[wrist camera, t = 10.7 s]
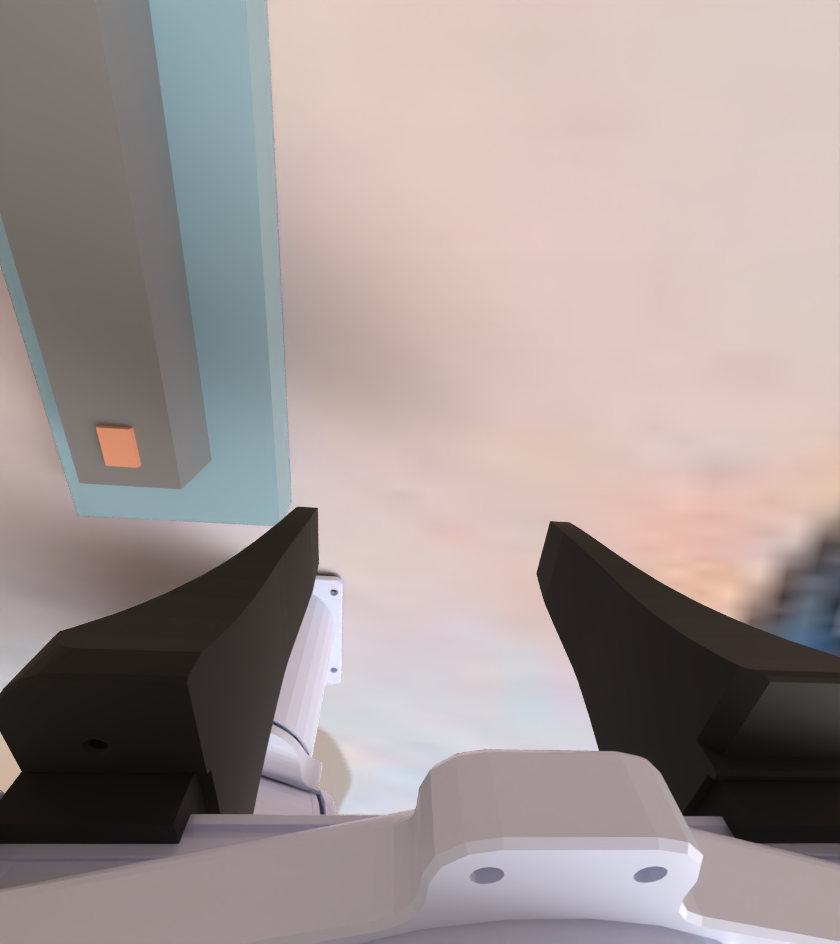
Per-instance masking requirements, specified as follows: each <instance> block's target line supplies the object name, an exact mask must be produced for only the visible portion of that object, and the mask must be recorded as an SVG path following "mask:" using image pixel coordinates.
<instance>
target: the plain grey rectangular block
mask: <svg viewBox="0 0 840 944" xmlns="http://www.w3.org/2000/svg"><path fill="white" fill-rule="evenodd" d="M0 214H1V218H2V221H3V225H4V228H5V232H6V235H7V238H8V242H9V245H10V249H11V252H12V255H13V259H14V262H15V266H16V269H17V272H18V276H19V279H20V283H21V286H22V289H23V293H24V296H25V300H26V303H27V306H28V310H29V313H30V317H31V320H32V324H33V327H34V330H35V334H36V337H37V341H38V344H39V347H40V351H41V354H42V358H43V361H44V364H45V368H46V371H47V375H48V378H49V381H50V385H51V388H52V392H53V395H54V398H55V402H56V405H57V409H58V412H59V415H60V419H61V422H62V426H63V429H64V433H65V436H66V439H67V443H68V446H69V450H70V453H71V456H72V460H73V463H74V467H75V470H76V473H77V477H78V480H79V483H83V484H100V485H117V486H134V487H150V488H167V489H182V488H183V487H184V486H185V485H186V484H187V483H188V482H189V481H191V480H192V479H193V478H194V477H195V476H196V475H197V474H198V473H199V472H200V471H201V470H202V469H203V468H204V467H205V466H206V465H207V464H208V463H209V462H210V461H211V460H212V459H211V452H210V445H209V437H208V430H207V423H206V415H205V408H204V401H203V393H202V386H201V379H200V371H199V364H198V357H197V350H196V342H195V335H194V328H193V320H192V313H191V306H190V298H189V291H188V284H187V277H186V269H185V262H184V255H183V247H182V240H181V233H180V225H179V218H178V211H177V203H176V196H175V189H174V182H173V174H172V167H171V160H170V152H169V145H168V138H167V130H166V123H165V116H164V108H163V101H162V94H161V87H160V79H159V72H158V65H157V57H156V50H155V43H154V35H153V28H152V21H151V14H150V6H149V0H0Z"/></svg>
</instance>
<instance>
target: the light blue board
mask: <svg viewBox="0 0 840 944" xmlns="http://www.w3.org/2000/svg"><path fill="white" fill-rule="evenodd" d="M149 6H150V14H151V21H152V28H153V35H154V43H155V50H156V57H157V65H158V72H159V79H160V87H161V94H162V101H163V108H164V116H165V123H166V130H167V138H168V145H169V152H170V160H171V167H172V174H173V182H174V189H175V196H176V203H177V211H178V218H179V225H180V233H181V240H182V247H183V255H184V262H185V269H186V277H187V284H188V291H189V298H190V306H191V313H192V320H193V328H194V335H195V342H196V350H197V357H198V364H199V371H200V379H201V386H202V393H203V401H204V408H205V415H206V423H207V430H208V437H209V445H210V452H211V459H212V460H211V461H210V462H209V463H208V464H207V465H206V466H205V467H204V468H203V469H202V470H201V471H200V472H199V473H198V474H197V475H196V476H195V477H194V478H193V479H192V480H191V481H189V482H188V483H187V484H186V485H185V486H184V487H183V488H182V489H167V488H150V487H134V486H117V485H100V484H83V483H79V480H78V477H77V473H76V470H75V467H74V463H73V460H72V456H71V453H70V450H69V446H68V443H67V439H66V436H65V433H64V429H63V426H62V422H61V419H60V415H59V412H58V409H57V405H56V402H55V398H54V395H53V392H52V388H51V385H50V381H49V378H48V375H47V371H46V368H45V364H44V361H43V358H42V354H41V351H40V347H39V344H38V341H37V337H36V334H35V330H34V327H33V324H32V320H31V317H30V313H29V310H28V306H27V303H26V300H25V296H24V293H23V289H22V286H21V283H20V279H19V276H18V272H17V269H16V266H15V262H14V259H13V255H12V252H11V249H10V245H9V242H8V238H7V235H6V232H5V228H4V225H3V221H2V218H1V214H0V264H1V268H2V271H3V274H4V277H5V281H6V284H7V287H8V290H9V294H10V297H11V300H12V304H13V307H14V310H15V313H16V317H17V320H18V323H19V326H20V330H21V333H22V336H23V339H24V343H25V346H26V349H27V352H28V356H29V359H30V362H31V365H32V369H33V372H34V375H35V378H36V382H37V385H38V388H39V391H40V395H41V398H42V401H43V404H44V408H45V411H46V414H47V418H48V421H49V424H50V427H51V431H52V434H53V437H54V440H55V444H56V447H57V450H58V453H59V457H60V460H61V463H62V466H63V470H64V473H65V476H66V479H67V483H68V486H69V489H70V492H71V496H72V499H73V502H74V505H75V509H76V512H77V515H78V516H96V517H114V518H133V519H151V520H170V521H188V522H207V523H225V524H244V525H262V526H275V525H276V524H277V523H278V522H279V521H281V520H282V519H283V518H284V517H285V515H286V513H287V511H288V509H289V507H290V505H291V503H292V501H291V481H290V460H289V440H288V420H287V399H286V379H285V359H284V338H283V318H282V298H281V278H280V257H279V237H278V217H277V196H276V176H275V156H274V135H273V115H272V95H271V74H270V54H269V34H268V13H267V0H149Z"/></svg>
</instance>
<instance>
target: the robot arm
mask: <svg viewBox="0 0 840 944" xmlns="http://www.w3.org/2000/svg"><path fill="white" fill-rule="evenodd" d="M318 564H319V551H318V508H310V507H296V508H295V509H294V510H293V511H291V512H290V513H289V514H288V515H287V516H285V517H284V518H283V519H282V520H281V521H279V522H278V523H277V524H276V525H275V526H274V527H272V528H271V529H270V530H269V531H267V532H266V533H265V534H264V535H262V536H261V537H260V538H259V539H257V540H256V541H255V542H253V543H252V544H251V545H249V546H248V547H246V548H245V549H244V550H242V551H241V552H239V553H238V554H237V555H235V556H234V557H232V558H231V559H229V560H228V561H226V562H224V563H223V564H221V565H220V566H218V567H216V568H214V569H213V570H211V571H209V572H207V573H206V574H204V575H202V576H200V577H198V578H197V579H194V580H192V581H190V582H188V583H186V584H184V585H182V586H180V587H178V588H176V589H174V590H172V591H170V592H168V593H166V594H164V595H161V596H159V597H157V598H154V599H152V600H149V601H147V602H145V603H142V604H140V605H137V606H134V607H132V608H129V609H127V610H124V611H121V612H118V613H116V614H113V615H110V616H107V617H104V618H101V619H98V620H95V621H91V622H88V623H85V624H82V625H79V626H76V627H73V628H70V629H66V630H63V631H59V632H58V633H57V634H56V635H55V636H54V637H53V638H52V639H51V640H50V641H49V642H48V643H47V644H46V645H45V646H44V647H43V648H42V650H41V651H40V652H39V653H38V654H37V655H36V656H35V657H34V658H33V659H32V660H31V661H30V662H29V663H28V664H27V665H26V666H25V667H24V668H23V669H22V670H21V671H20V672H19V673H18V674H17V675H16V676H15V677H14V678H13V679H12V680H11V682H10V683H9V684H8V685H7V686H6V687H5V688H4V689H3V690H2V692H1V693H0V732H1V734H2V736H3V738H4V739H5V741H6V743H7V745H8V747H9V749H10V751H11V752H12V754H13V756H14V758H15V760H16V762H17V764H18V765H19V767H20V769H21V771H22V772H21V773H20V775H19V776H18V777H17V778H16V780H15V781H14V782H13V784H12V785H11V786H10V788H9V789H8V790H7V791H6V793H4V792H2V791H1V790H0V944H840V657H838V656H835V655H832V654H828V653H825V652H822V651H819V650H816V649H813V648H810V647H807V646H804V645H801V644H798V643H795V642H792V641H789V640H786V639H783V638H781V637H778V636H775V635H773V634H770V633H768V632H765V631H762V630H760V629H757V628H754V627H752V626H750V625H747V624H745V623H742V622H740V621H737V620H735V619H733V618H730V617H728V616H726V615H724V614H722V613H720V612H717V611H715V610H713V609H711V608H709V607H706V606H704V605H702V604H700V603H698V602H696V601H694V600H692V599H690V598H688V597H686V596H685V595H683V594H681V593H679V592H677V591H675V590H673V589H672V588H670V587H668V586H666V585H664V584H663V583H661V582H659V581H657V580H656V579H654V578H653V577H651V576H649V575H648V574H646V573H645V572H643V571H641V570H640V569H638V568H637V567H635V566H633V565H632V564H630V563H629V562H627V561H626V560H624V559H623V558H621V557H620V556H619V555H617V554H616V553H614V552H613V551H611V550H610V549H608V548H607V547H606V546H604V545H603V544H601V543H600V542H598V541H597V540H596V539H594V538H593V537H591V536H590V535H588V534H587V533H585V532H584V531H583V530H581V529H579V528H578V527H576V526H575V525H573V524H571V523H569V522H554V521H550V524H549V528H548V532H547V536H546V539H545V543H544V547H543V551H542V555H541V558H540V562H539V566H538V570H537V577H538V581H539V585H540V589H541V592H542V596H543V599H544V602H545V605H546V607H547V610H548V612H549V614H550V617H551V619H552V621H553V624H554V626H555V628H556V631H557V633H558V635H559V637H560V640H561V642H562V644H563V646H564V649H565V651H566V653H567V655H568V658H569V660H570V662H571V665H572V667H573V669H574V672H575V675H576V677H577V680H578V683H579V686H580V689H581V692H582V695H583V698H584V701H585V704H586V708H587V711H588V714H589V717H590V721H591V724H592V728H593V731H594V735H595V738H596V741H597V745H598V748H599V751H562V750H500V749H484V750H477V751H470V752H463V753H457V754H455V755H453V756H451V757H449V758H448V759H446V760H444V761H442V762H440V763H438V764H436V765H435V766H434V767H433V768H432V769H431V770H430V771H429V773H428V774H427V776H426V778H425V779H424V781H423V783H422V784H421V786H420V787H419V793H418V799H417V806H416V809H414V810H409V811H403V812H398V813H393V814H388V815H337V814H336V808H335V804H334V801H333V799H332V797H331V796H330V794H329V793H327V792H325V791H322V790H319V783H320V777H321V772H322V765H323V764H322V763H321V762H319V761H317V760H315V759H313V758H312V754H313V749H314V744H315V739H316V733H317V728H318V723H319V718H320V712H321V707H322V702H323V696H324V691H325V686H326V684H337V683H339V682H340V681H341V672H342V591H343V583H342V580H341V579H340V578H339V577H335V576H316V574H317V569H318ZM333 589H335V590H337V591H335V592H334V591H332V590H333Z"/></svg>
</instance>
